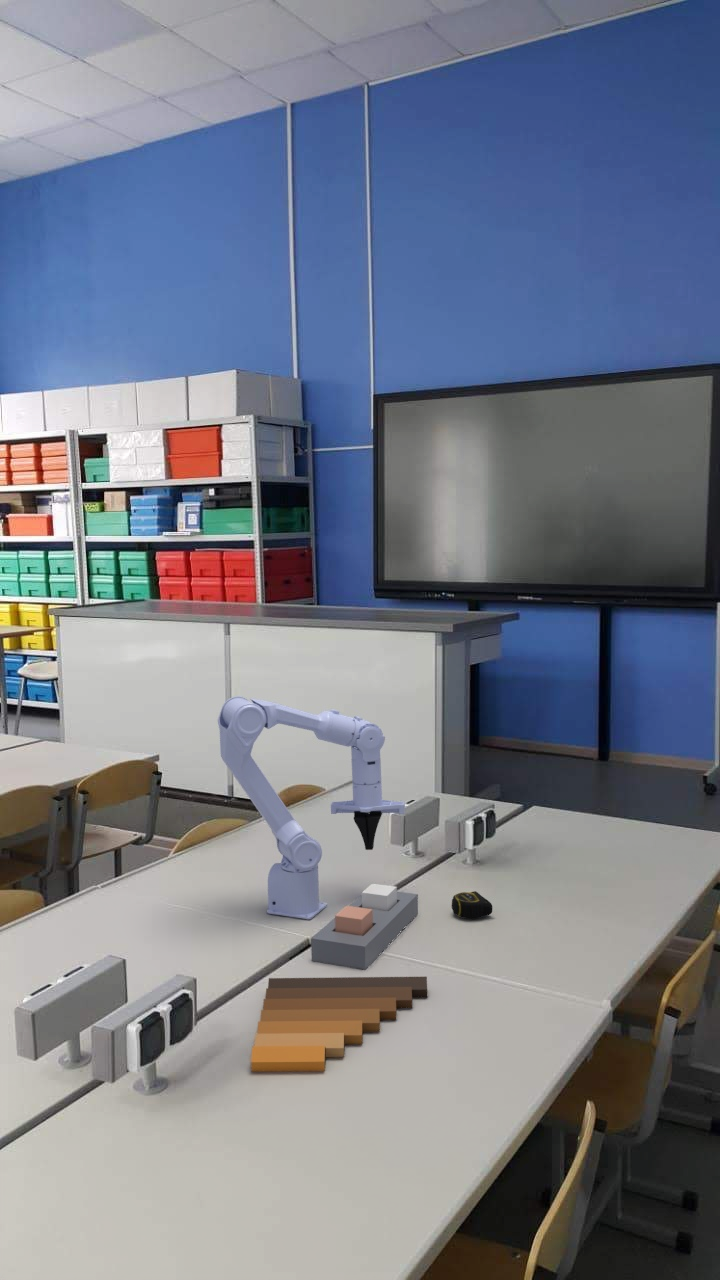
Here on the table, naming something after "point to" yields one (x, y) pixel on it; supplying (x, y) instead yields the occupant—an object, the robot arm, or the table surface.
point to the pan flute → (325, 1017)
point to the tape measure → (471, 905)
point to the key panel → (364, 948)
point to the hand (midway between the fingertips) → (369, 848)
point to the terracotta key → (354, 920)
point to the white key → (379, 897)
